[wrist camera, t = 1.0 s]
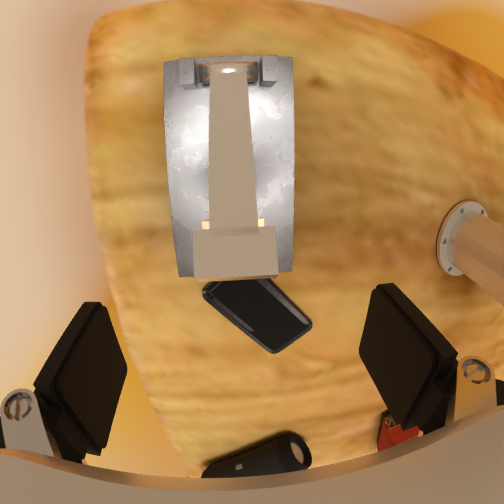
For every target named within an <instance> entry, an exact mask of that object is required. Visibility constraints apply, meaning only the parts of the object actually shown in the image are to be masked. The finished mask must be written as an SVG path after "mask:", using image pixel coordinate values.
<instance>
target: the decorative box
mask: <svg viewBox="0 0 504 504" xmlns="http://www.w3.org/2000/svg"><path fill="white" fill-rule="evenodd" d="M418 434H419V428H418V426H416V427H413V428H411V429H408V430H405V431H403V430H402V428H401V426H400V424H399V425H398V424H396V423H395V422H394V420H393V418H392V416H391V414H390V413H388V414H387V415H386V416H385V418H384V419H383V421H382V428H381V431H380V436H379V439H378V444H377V449H378V452H379V451H382V450H385V449H388V448H391V447H394V446H397V445H400V444H402V443H405V442H408V441H410V440H413V439H415V438H418Z"/></svg>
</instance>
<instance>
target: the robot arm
mask: <svg viewBox="0 0 504 504" xmlns="http://www.w3.org/2000/svg"><path fill="white" fill-rule="evenodd" d="M437 258H438V262H439V264H440V267H441V268H442V269H443V270H444V271H445V272H446V273H448V274H450V275H452V276H459V275H462V274H465V275H466V276H467V277H469V278H470V279H471V280H473V281H474V282H475V283H476V284H478V285H479V286H480V287H481V288H483V289H484V290H485V291H486V292H488V293H489V294H490V295H491V296H493V297H494V298H495V299H496V300H497V301H499V302H500V303H501V304H502V305H503V306H504V226H503V225H501V224H499V223H497V222H495V221H493V220H491V219H489V218H488V215H487V212H486V210H485V209H484V207H483V206H482V205H481V204H479V203H478V202H475V201H472V200H466V201H463V202H461V203H459V204H457V205H456V206H455V207H454V208H453V209H452V210H451V211H450V212H449V214H448V215H447V217H446V218H445V220H444V222H443V224H442V226H441V229H440V232H439V236H438V240H437ZM359 355H360V357H361V359H362V361H363V363H364V365H365V367H366V368H367V370H368V372H369V374H370V376H371V378H372V380H373V381H374V383H375V385H376V387H377V389H378V391H379V393H380V395H381V397H382V399H383V400H384V402H385V404H386V406H387V408H388V410H389V412H390V414H391V416H392V418H393V420H394V422H395V423H396V424H398V425H399V424H400V426H401V428H402V430H403V431H405V430H408V429H411V428H413V427H416V426H418V428H419V434H418V438H415V439H413V440H410V441H408V442H405V443H402V444H400V445H397V446H394V447H391V448H388V449H385V450H382V451H379V452H376V453H373V454H369V455H366V456H363V457H359V458H355V459H352V460H348V461H344V462H340V463H335V464H331V465H326V466H322V467H317V468H312V469H306V470H300V471H294V472H287V473H280V474H272V475H263V476H251V477H236V478H178V477H162V476H152V475H143V474H135V473H127V472H121V471H115V470H110V469H104V468H99V467H93V466H89V465H87V463H86V461H85V459H84V458H85V455H86V453H88V454H93V455H98V456H100V454H101V450H102V448H105V447H106V445H107V441H108V438H109V434H110V430H111V426H112V422H113V418H114V415H115V412H116V408H117V404H118V401H119V398H120V394H121V391H122V387H123V384H124V381H125V378H126V374H127V364H126V361H125V359H124V356H123V354H122V351H121V348H120V346H119V343H118V340H117V337H116V334H115V331H114V328H113V326H112V323H111V320H110V317H109V313H108V310H107V308H106V307H105V306H102V304H101V303H100V302H84V304H82V306H81V307H80V309H79V310H78V312H77V313H76V315H75V316H74V318H73V319H72V321H71V322H70V324H69V325H68V327H67V328H66V330H65V331H64V333H63V335H62V336H61V338H60V339H59V341H58V343H57V344H56V346H55V347H54V349H53V351H52V352H51V354H50V356H49V357H48V359H47V361H46V362H45V364H44V366H43V368H42V369H41V371H40V373H39V375H38V376H37V378H36V380H35V382H34V384H33V385H34V387H35V388H36V389H35V391H34V392H32V391H30V390H28V389H17V390H14V391H12V392H10V393H9V394H8V395H7V396H6V397H5V398H4V400H3V401H2V404H1V407H0V414H1V416H0V504H504V381H501V380H497V379H495V374H494V370H493V368H492V366H491V365H490V364H489V363H488V362H487V361H486V360H484V359H482V358H480V357H477V356H471V355H470V356H465V357H463V358H462V359H461V360H460V361H459V362H458V361H457V360H456V357H457V355H458V352H457V351H456V350H455V349H454V348H453V346H452V345H451V344H450V343H449V342H448V341H447V340H446V338H445V337H444V336H443V335H442V334H441V333H440V332H439V331H438V329H437V328H436V327H435V326H434V325H433V324H432V323H431V322H430V321H429V320H428V318H427V317H426V316H425V315H424V314H423V313H422V312H421V311H420V310H419V309H418V308H417V307H416V306H415V305H414V304H413V303H412V301H411V300H410V299H409V298H408V297H407V296H406V295H405V294H404V293H403V292H402V291H401V290H400V289H399V288H398V287H397V286H396V285H395V284H394V283H387V284H379V285H377V287H376V289H374V290H373V291H372V293H371V298H370V303H369V308H368V312H367V317H366V321H365V326H364V330H363V334H362V338H361V342H360V346H359Z"/></svg>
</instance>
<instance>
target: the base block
mask: <svg viewBox="0 0 504 504" xmlns="http://www.w3.org/2000/svg"><path fill="white" fill-rule="evenodd" d="M223 61H258V82H247V85H248V97H249V109H250V121H251V134H252V147H253V160H254V173H255V186H256V199H257V213H258V227H260V226H275V235H276V247H277V259H278V271H279V272H289V271H292V257H293V225H294V88H293V59H292V57H280V56H277V55H262V56H221V57H205V58H194V57H193V58H183V59H180V60H175V61H167V62H164V119H165V142H166V159H167V173H168V185H169V197H170V207H171V217H172V226H173V235H174V243H175V251H176V259H177V266H178V273H179V277H194V261H193V230H199V229H209V174H208V160H209V97H210V83H207V84H199V77H198V65H199V63H206V62H223Z"/></svg>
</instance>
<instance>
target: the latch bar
mask: <svg viewBox="0 0 504 504" xmlns="http://www.w3.org/2000/svg"><path fill="white" fill-rule="evenodd" d="M198 77H199V84H207V83H210V97H209V160H208V174H209V229H199V230H193V261H194V279H195V280H196V281H197V282H208V281H229V280H248V279H265V278H276V277H277V276H278V275H279V271H278V259H277V247H276V235H275V226H260V227H258V213H257V199H256V186H255V173H254V160H253V147H252V134H251V121H250V109H249V97H248V85H247V82H258V61H223V62H206V63H199V65H198Z"/></svg>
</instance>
